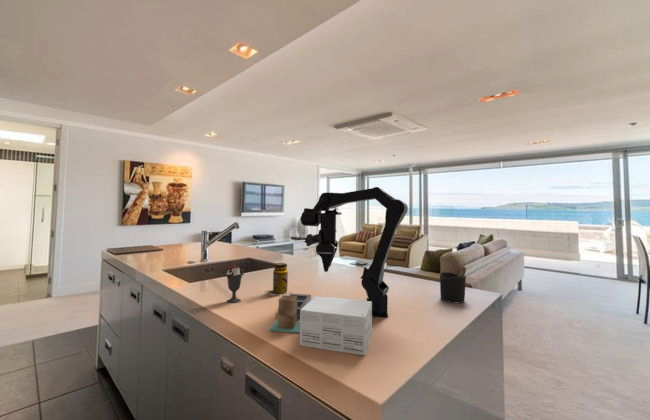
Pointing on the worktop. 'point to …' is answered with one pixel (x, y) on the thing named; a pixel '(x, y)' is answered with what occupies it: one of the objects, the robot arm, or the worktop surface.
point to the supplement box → (336, 324)
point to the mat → (294, 330)
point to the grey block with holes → (300, 302)
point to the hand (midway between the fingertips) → (327, 269)
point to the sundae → (234, 281)
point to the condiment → (279, 280)
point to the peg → (287, 312)
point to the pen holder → (452, 287)
